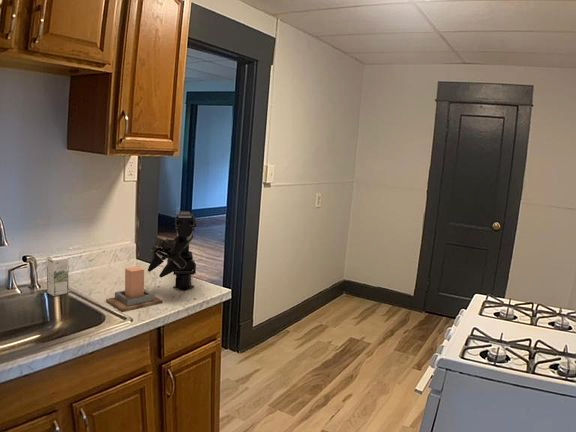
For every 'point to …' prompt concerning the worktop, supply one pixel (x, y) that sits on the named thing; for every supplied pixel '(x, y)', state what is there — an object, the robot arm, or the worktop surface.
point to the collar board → (132, 301)
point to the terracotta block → (134, 282)
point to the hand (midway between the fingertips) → (154, 273)
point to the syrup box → (57, 275)
